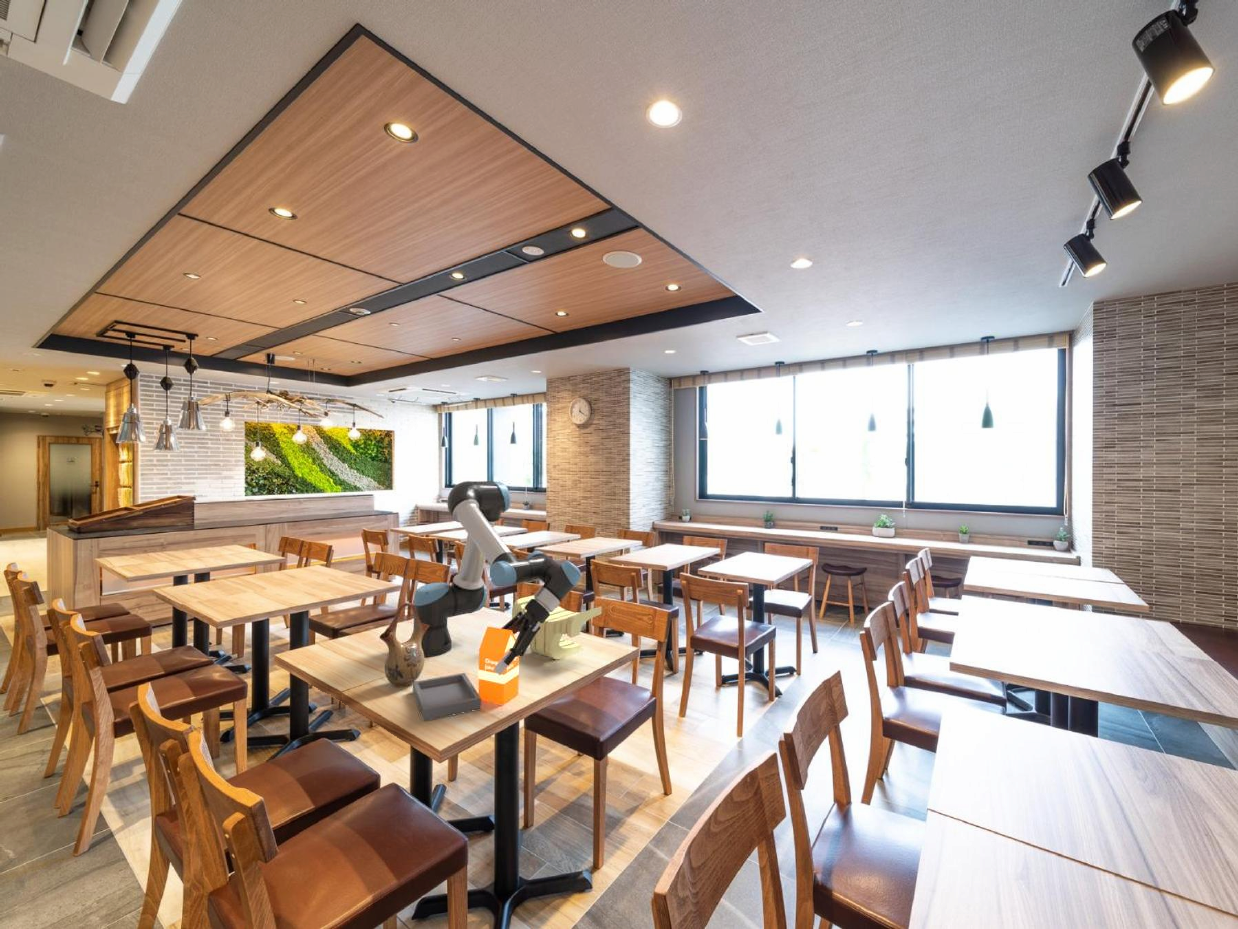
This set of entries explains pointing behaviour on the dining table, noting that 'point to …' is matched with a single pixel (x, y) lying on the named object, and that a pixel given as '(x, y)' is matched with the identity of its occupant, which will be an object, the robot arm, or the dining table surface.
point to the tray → (445, 696)
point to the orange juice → (489, 655)
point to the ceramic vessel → (404, 652)
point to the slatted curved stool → (556, 629)
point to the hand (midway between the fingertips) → (490, 665)
